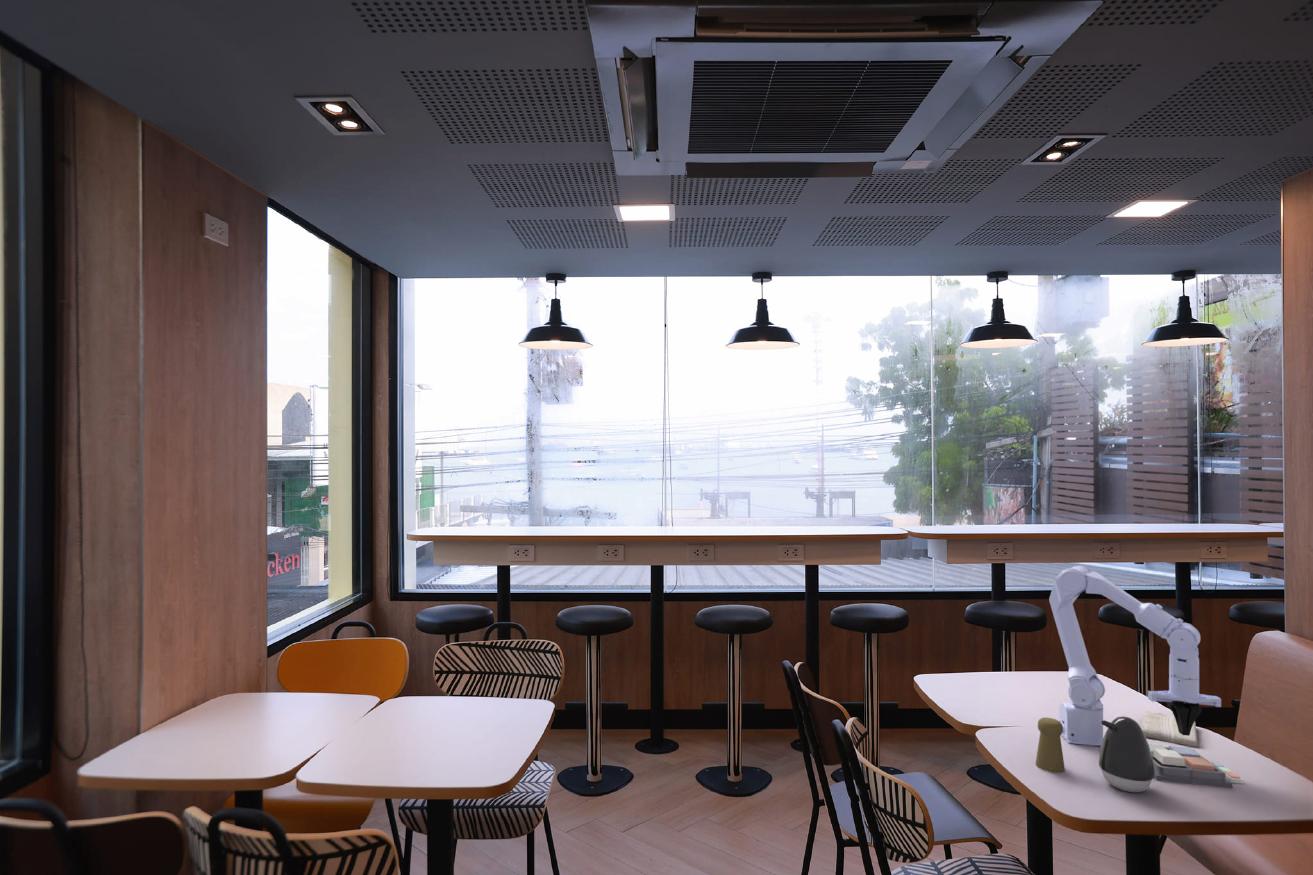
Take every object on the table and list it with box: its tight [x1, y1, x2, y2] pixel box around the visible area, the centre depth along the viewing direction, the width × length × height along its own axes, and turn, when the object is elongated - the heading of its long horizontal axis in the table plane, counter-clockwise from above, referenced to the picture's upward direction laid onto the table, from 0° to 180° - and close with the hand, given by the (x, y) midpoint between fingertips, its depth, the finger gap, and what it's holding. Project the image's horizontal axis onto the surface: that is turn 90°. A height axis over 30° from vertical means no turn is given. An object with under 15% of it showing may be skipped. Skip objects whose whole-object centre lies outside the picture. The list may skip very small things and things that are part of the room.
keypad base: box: [1152, 746, 1234, 789], centre depth 164 cm, size 15×15×3 cm
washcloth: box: [1141, 711, 1199, 748], centre depth 187 cm, size 12×18×3 cm, turn 145°
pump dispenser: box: [1098, 715, 1155, 793], centre depth 154 cm, size 10×10×15 cm
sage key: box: [1148, 743, 1167, 755], centre depth 167 cm, size 4×4×2 cm
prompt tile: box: [1210, 761, 1244, 784], centre depth 162 cm, size 2×9×1 cm, turn 168°
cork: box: [1035, 717, 1066, 774], centre depth 164 cm, size 6×6×11 cm
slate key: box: [1168, 745, 1201, 758], centre depth 166 cm, size 4×4×2 cm
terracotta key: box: [1182, 756, 1215, 771], centre depth 160 cm, size 4×4×2 cm
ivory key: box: [1153, 749, 1185, 766], centre depth 162 cm, size 4×4×2 cm
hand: (1184, 733), depth 166 cm, fingers closed
